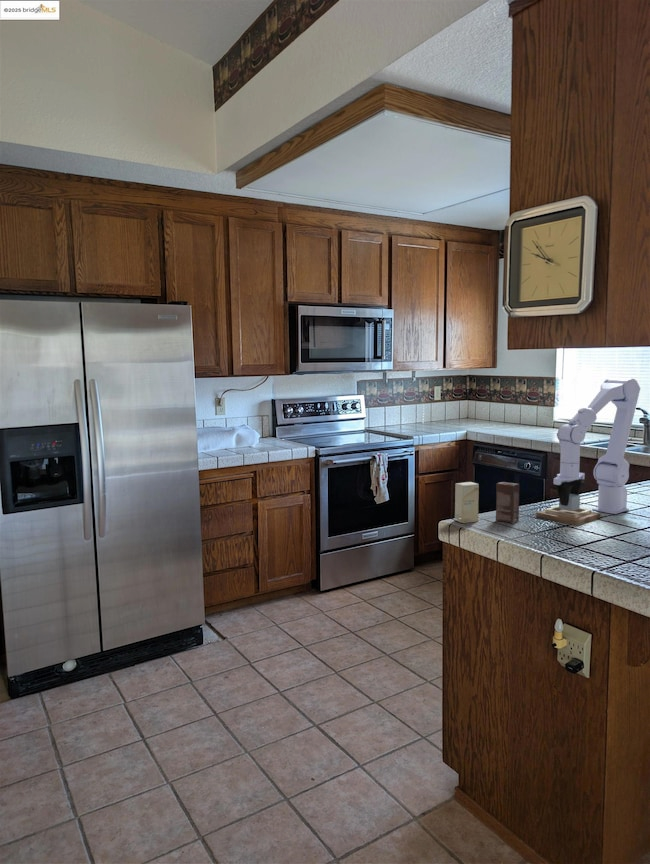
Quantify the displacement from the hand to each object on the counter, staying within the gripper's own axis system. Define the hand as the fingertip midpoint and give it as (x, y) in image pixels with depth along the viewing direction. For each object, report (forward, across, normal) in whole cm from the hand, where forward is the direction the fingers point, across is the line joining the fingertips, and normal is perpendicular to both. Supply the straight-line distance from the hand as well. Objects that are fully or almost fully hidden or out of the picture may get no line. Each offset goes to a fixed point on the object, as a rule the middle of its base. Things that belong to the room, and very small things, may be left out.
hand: (568, 503), depth 196 cm
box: (+5, +18, -10) cm, 21 cm away
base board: (+4, 0, 0) cm, 4 cm away
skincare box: (+5, +28, -18) cm, 34 cm away
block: (+2, 0, 0) cm, 2 cm away
